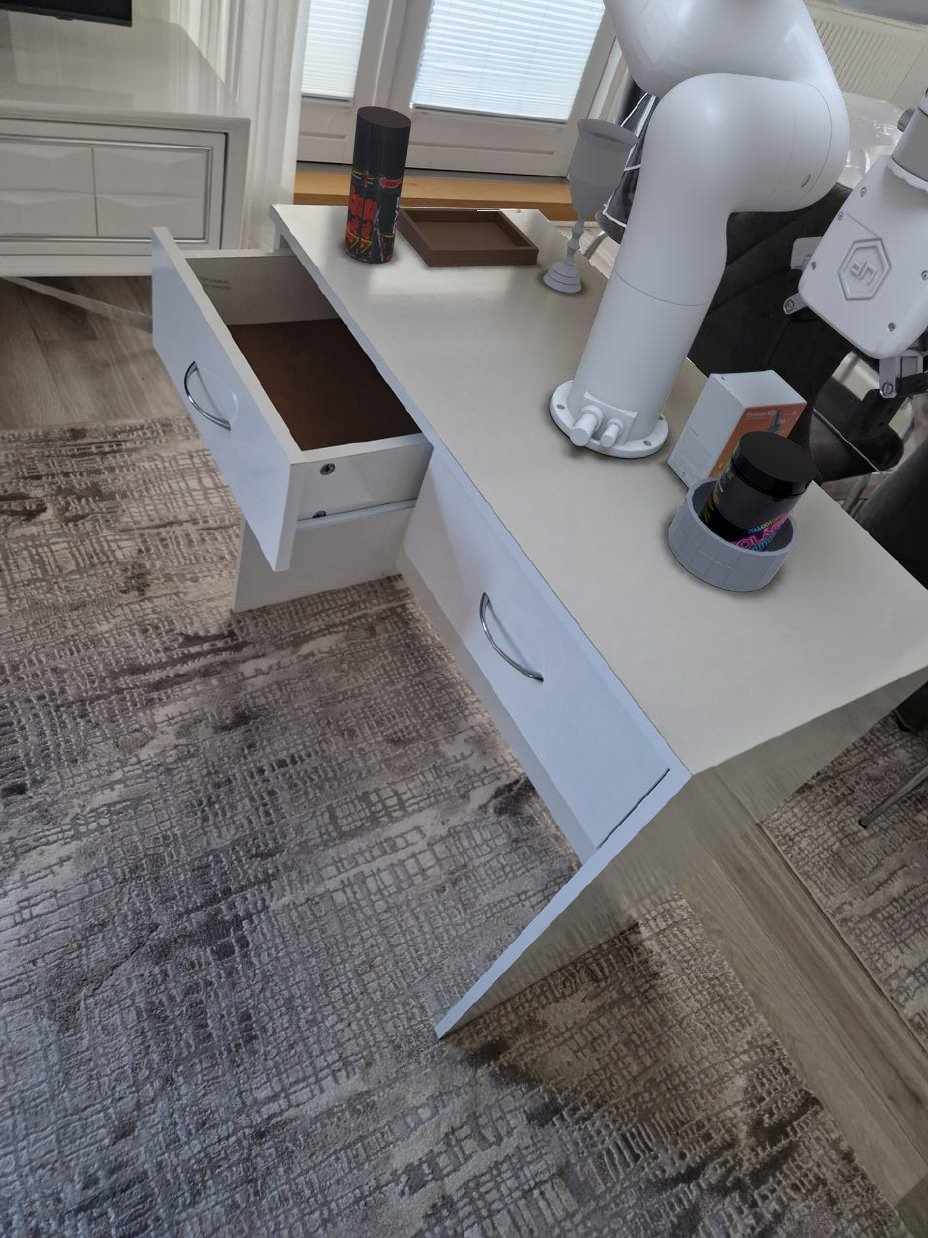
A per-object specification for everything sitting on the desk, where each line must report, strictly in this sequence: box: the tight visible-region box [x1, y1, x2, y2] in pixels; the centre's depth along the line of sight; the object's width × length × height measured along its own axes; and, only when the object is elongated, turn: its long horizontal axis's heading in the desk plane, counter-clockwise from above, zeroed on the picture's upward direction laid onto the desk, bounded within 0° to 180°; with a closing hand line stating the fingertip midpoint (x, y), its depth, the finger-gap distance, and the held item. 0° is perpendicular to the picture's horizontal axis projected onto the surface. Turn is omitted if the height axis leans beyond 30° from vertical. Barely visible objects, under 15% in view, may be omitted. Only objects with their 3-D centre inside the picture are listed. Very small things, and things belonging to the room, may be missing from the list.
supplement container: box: [698, 431, 818, 552], centre depth 70 cm, size 7×7×10 cm
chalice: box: [542, 117, 640, 294], centre depth 99 cm, size 7×7×18 cm
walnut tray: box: [396, 206, 540, 268], centre depth 106 cm, size 16×12×2 cm
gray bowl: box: [667, 477, 800, 593], centre depth 73 cm, size 10×10×4 cm
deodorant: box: [343, 105, 412, 265], centre depth 94 cm, size 6×6×15 cm
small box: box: [667, 369, 808, 489], centre depth 79 cm, size 8×6×10 cm
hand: (816, 399), depth 62 cm, fingers open, 9 cm apart
